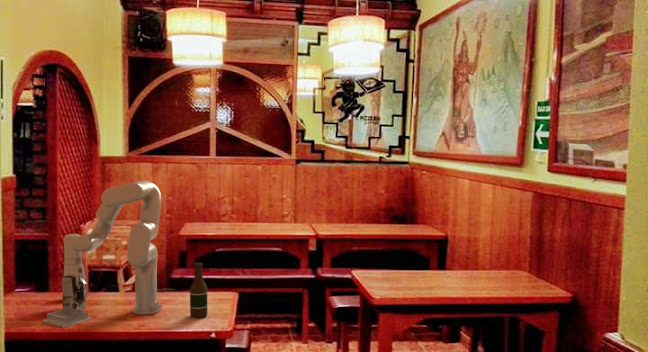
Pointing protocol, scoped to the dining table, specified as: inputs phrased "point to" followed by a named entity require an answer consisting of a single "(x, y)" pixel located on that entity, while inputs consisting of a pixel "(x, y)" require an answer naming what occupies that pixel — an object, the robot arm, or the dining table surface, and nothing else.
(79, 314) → the plate
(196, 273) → the beer bottle
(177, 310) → the dining table surface
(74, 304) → the coffee box
